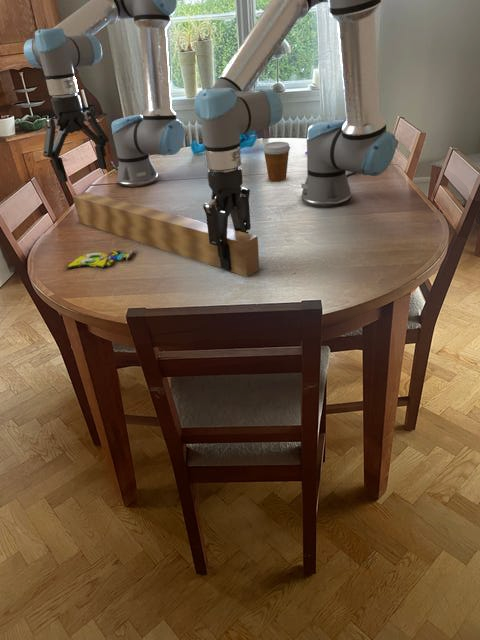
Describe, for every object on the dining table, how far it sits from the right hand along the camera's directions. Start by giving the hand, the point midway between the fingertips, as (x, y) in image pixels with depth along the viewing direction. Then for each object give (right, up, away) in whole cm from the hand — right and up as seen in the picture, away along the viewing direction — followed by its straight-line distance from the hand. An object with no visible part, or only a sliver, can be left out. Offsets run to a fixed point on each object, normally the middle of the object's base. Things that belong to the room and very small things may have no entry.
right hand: (233, 264), depth 116 cm
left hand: (-44, +29, +24) cm, 58 cm away
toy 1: (-35, +2, +9) cm, 36 cm away
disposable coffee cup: (+15, +37, +56) cm, 69 cm away
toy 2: (-5, +60, +95) cm, 113 cm away
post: (-21, +8, +16) cm, 28 cm away
